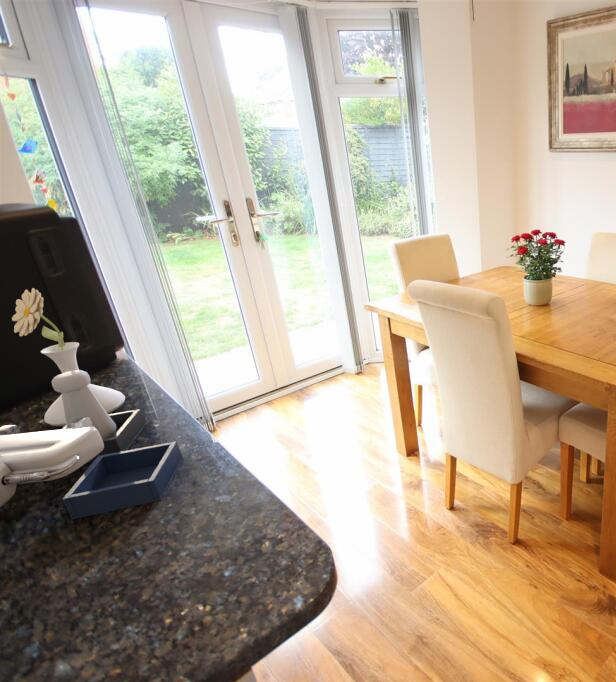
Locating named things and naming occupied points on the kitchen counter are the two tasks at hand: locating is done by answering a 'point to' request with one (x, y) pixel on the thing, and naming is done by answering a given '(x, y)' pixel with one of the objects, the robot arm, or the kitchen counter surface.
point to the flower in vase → (58, 355)
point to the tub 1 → (122, 432)
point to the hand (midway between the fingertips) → (50, 425)
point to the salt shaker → (82, 402)
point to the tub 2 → (124, 480)
